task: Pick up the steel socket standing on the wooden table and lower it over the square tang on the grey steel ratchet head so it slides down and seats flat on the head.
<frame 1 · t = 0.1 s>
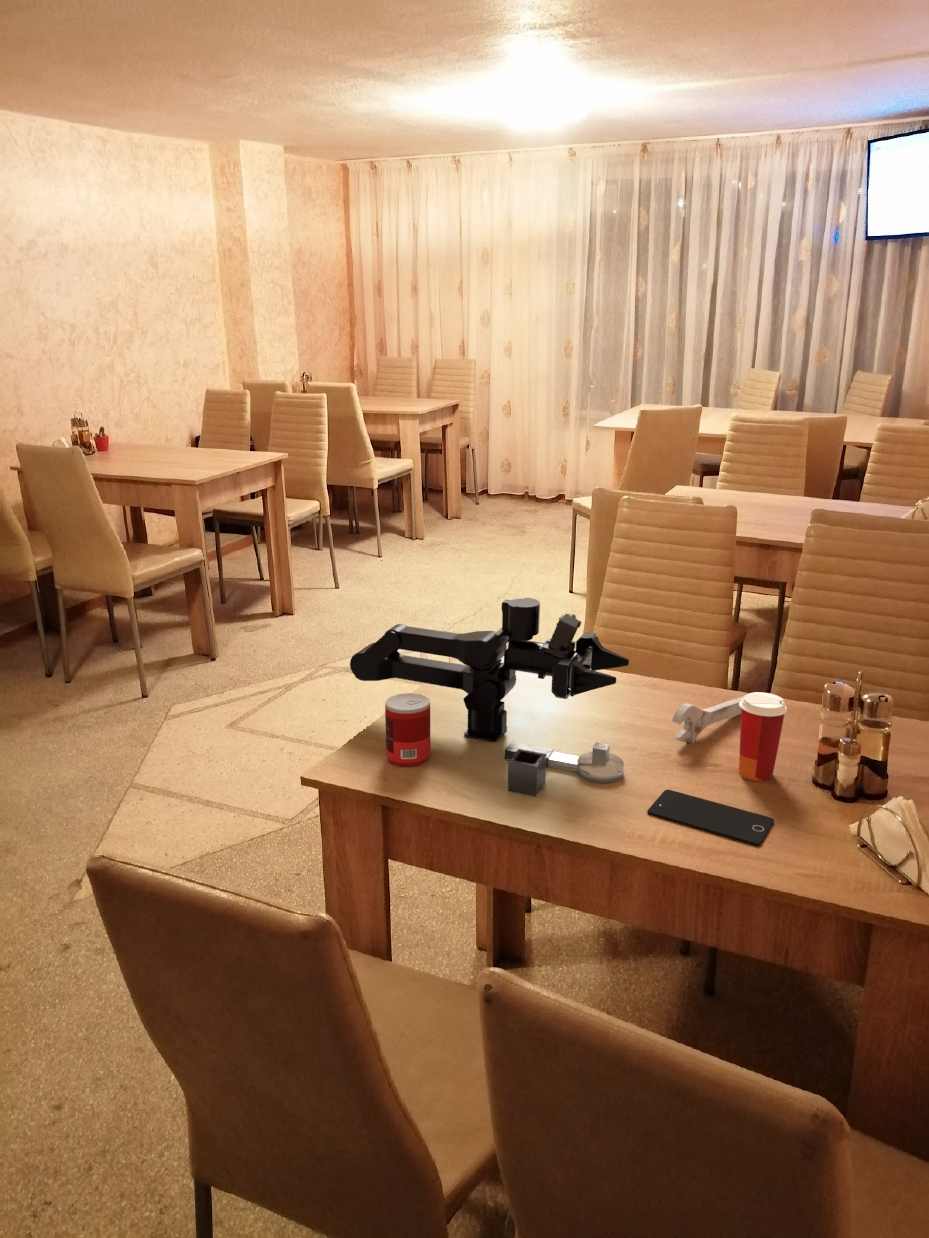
hand: (622, 671, 164), 17 cm above the table, tool horizontal, fingers open, 9 cm apart
socket: (526, 787, 159), on the table
paper cup: (755, 774, 164), on the table
canned food: (408, 758, 169), on the table
cell phone: (709, 821, 150), on the table
ratchet: (599, 772, 164), on the table
wrench: (716, 728, 182), on the table
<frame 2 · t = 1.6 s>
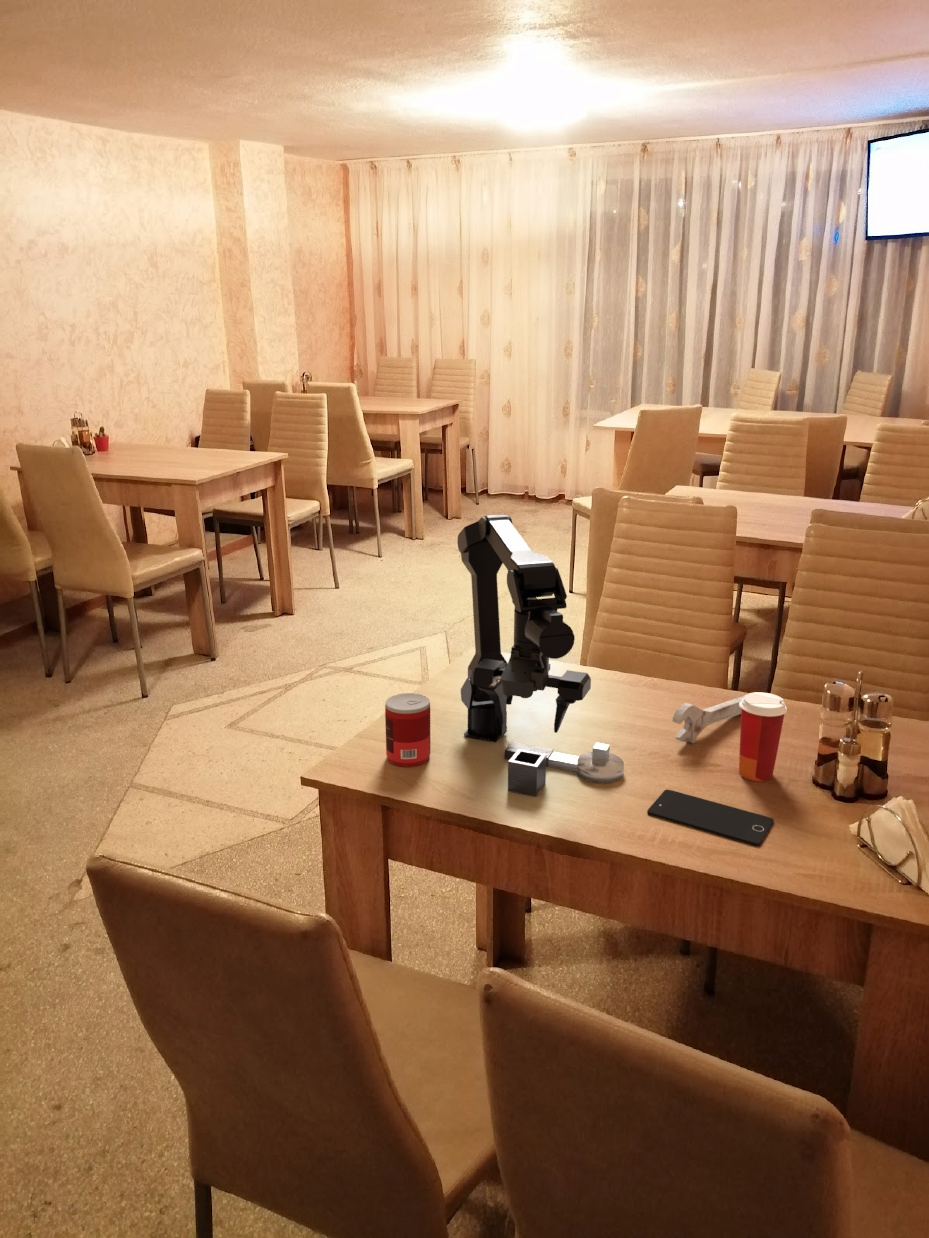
hand: (529, 727, 155), 11 cm above the table, tool pointing down, fingers open, 9 cm apart
nothing on the table moved.
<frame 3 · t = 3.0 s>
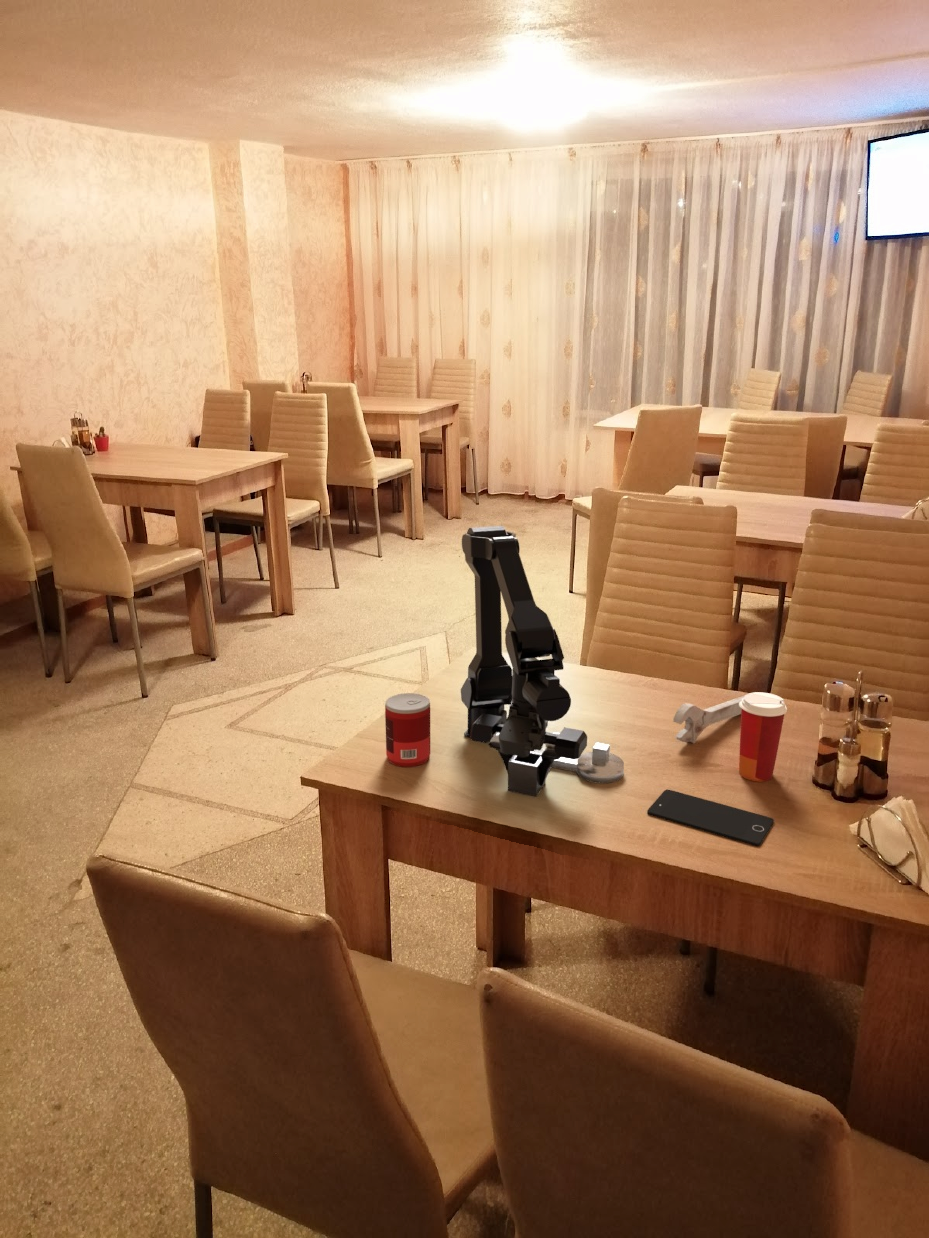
hand: (526, 781, 159), 1 cm above the table, tool pointing down, fingers closed on socket, 5 cm apart
socket: (526, 787, 159), on the table, touching gripper
everything else where it was.
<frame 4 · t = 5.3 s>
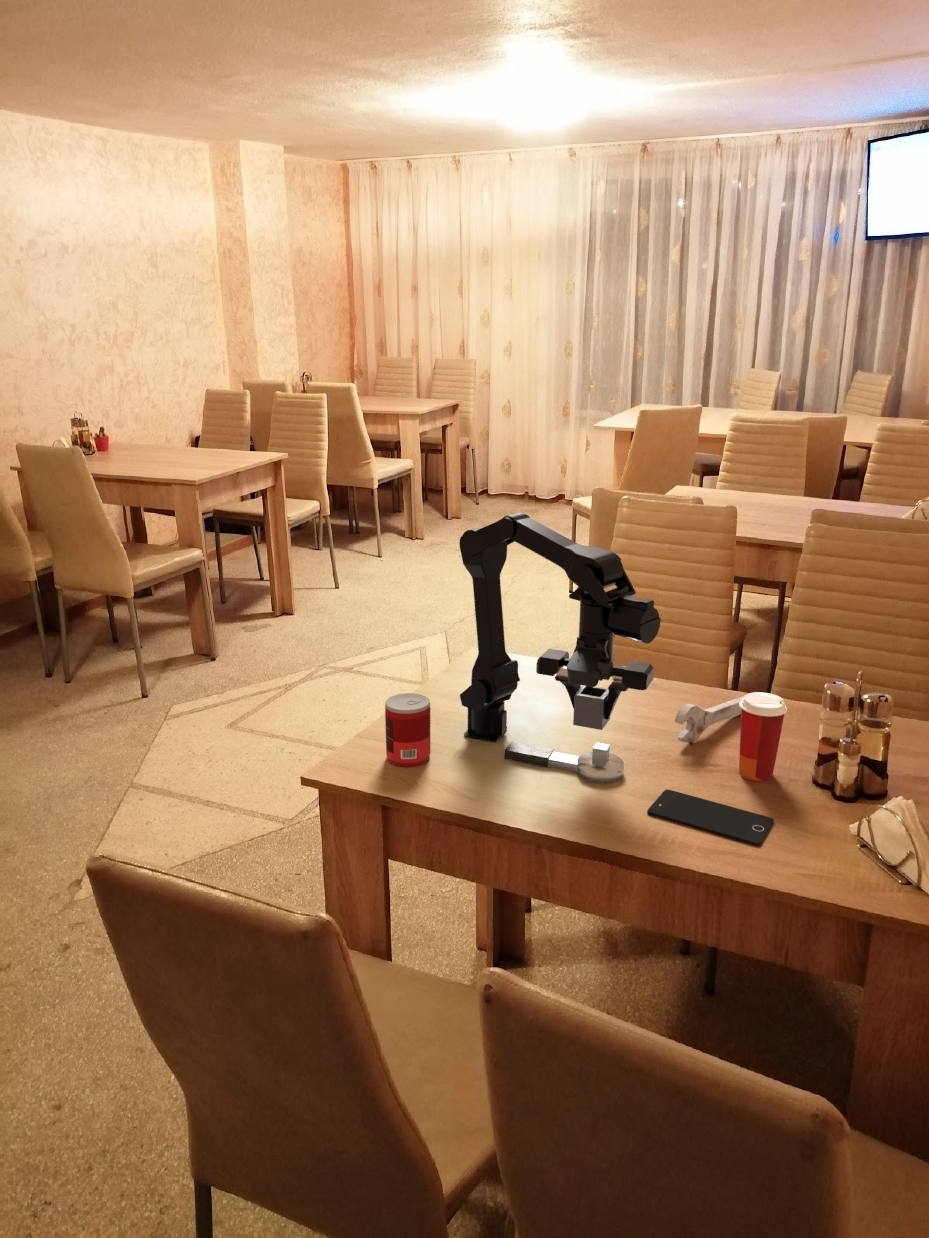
hand: (592, 716, 159), 11 cm above the table, tool pointing down, fingers closed on socket, 5 cm apart
socket: (591, 721, 160), point 10 cm above the table, touching gripper
everything else where it was.
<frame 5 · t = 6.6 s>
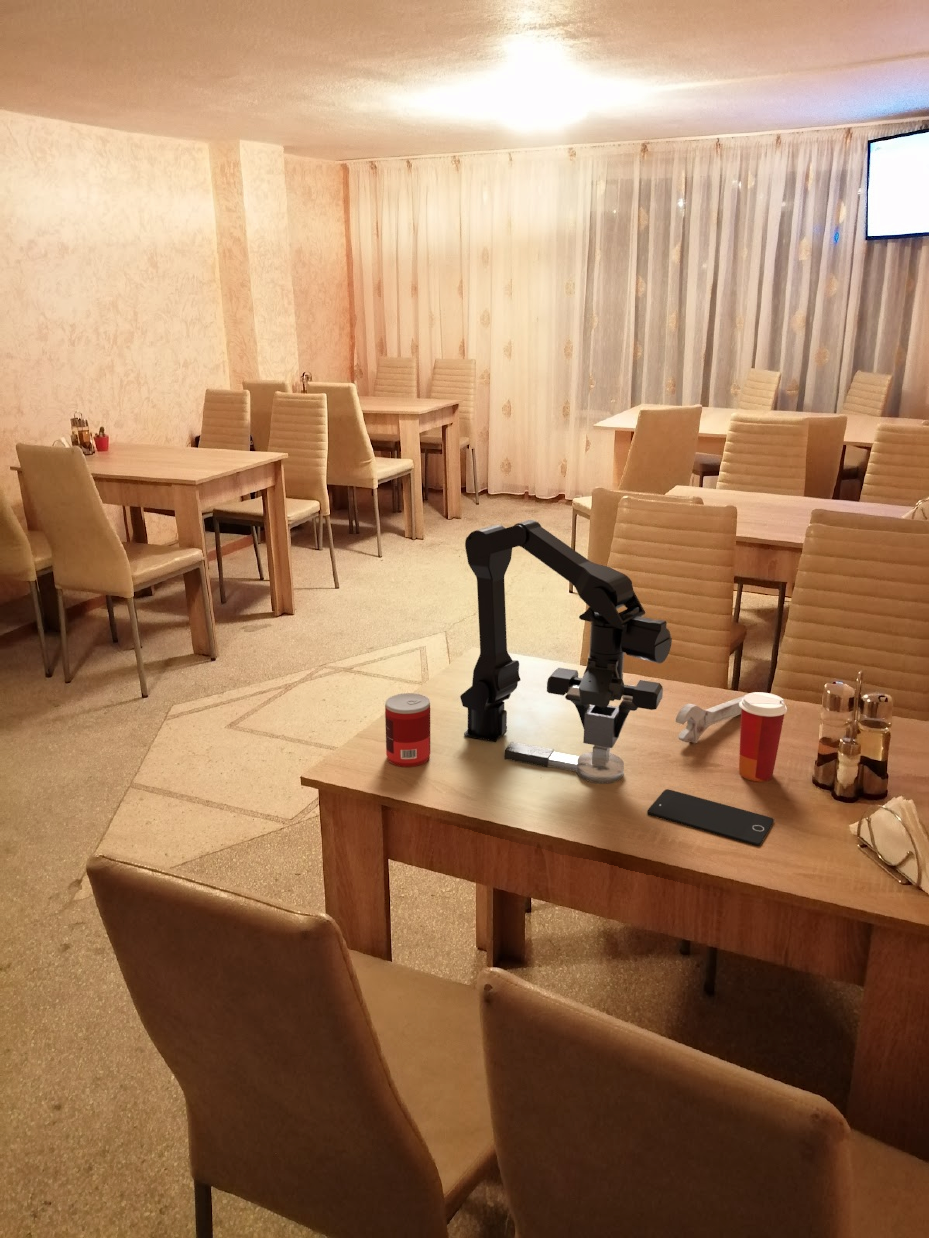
hand: (601, 734, 162), 7 cm above the table, tool pointing down, fingers closed on socket, 5 cm apart
socket: (601, 739, 162), point 6 cm above the table, touching gripper
everything else where it was.
when the fingers open (4 cm above the table, at t = 7.6 s): socket stays where it is, resting on ratchet.
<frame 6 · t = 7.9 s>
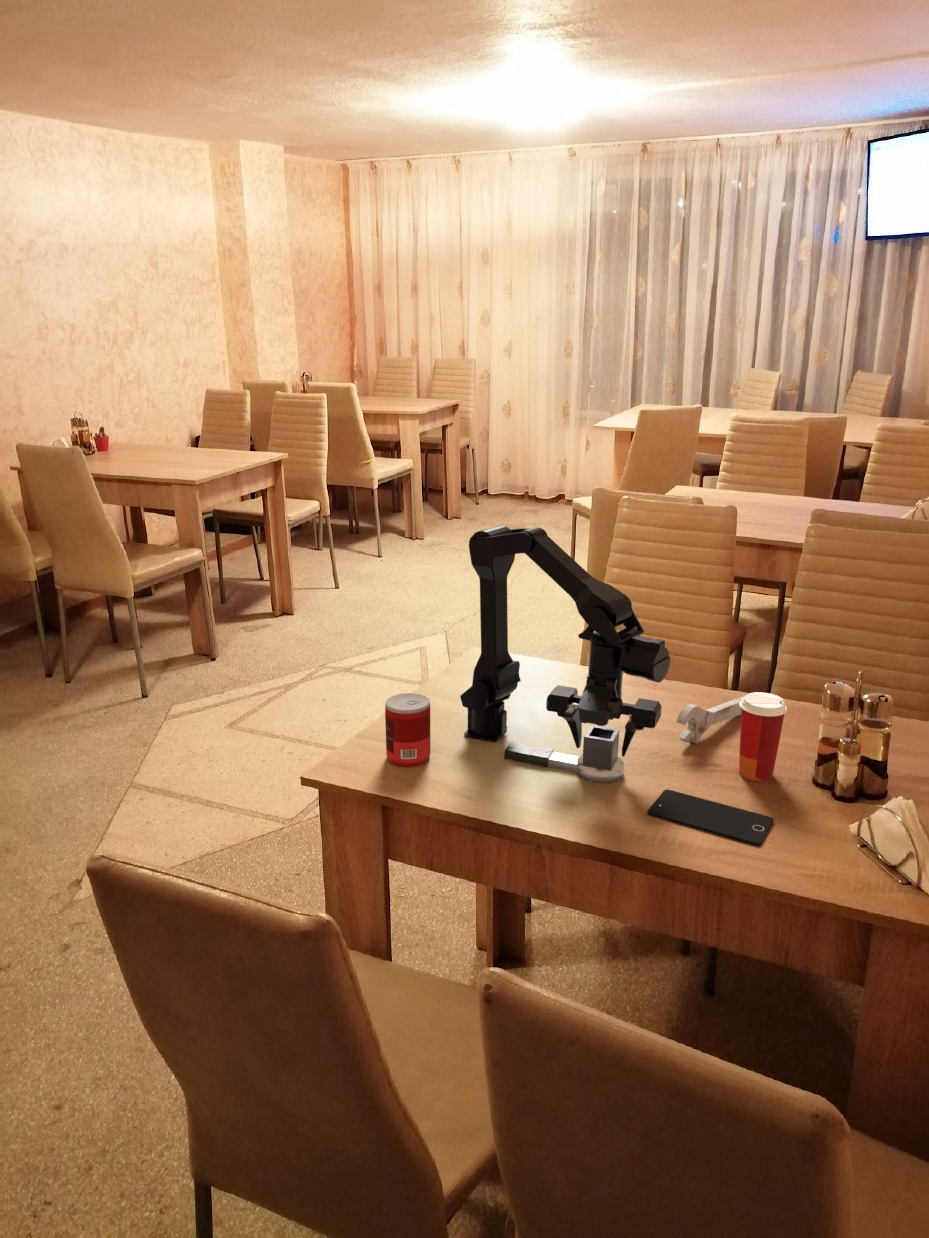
hand: (600, 751, 163), 4 cm above the table, tool pointing down, fingers open, 8 cm apart
socket: (600, 761, 163), point 2 cm above the table, touching ratchet
everything else where it was.
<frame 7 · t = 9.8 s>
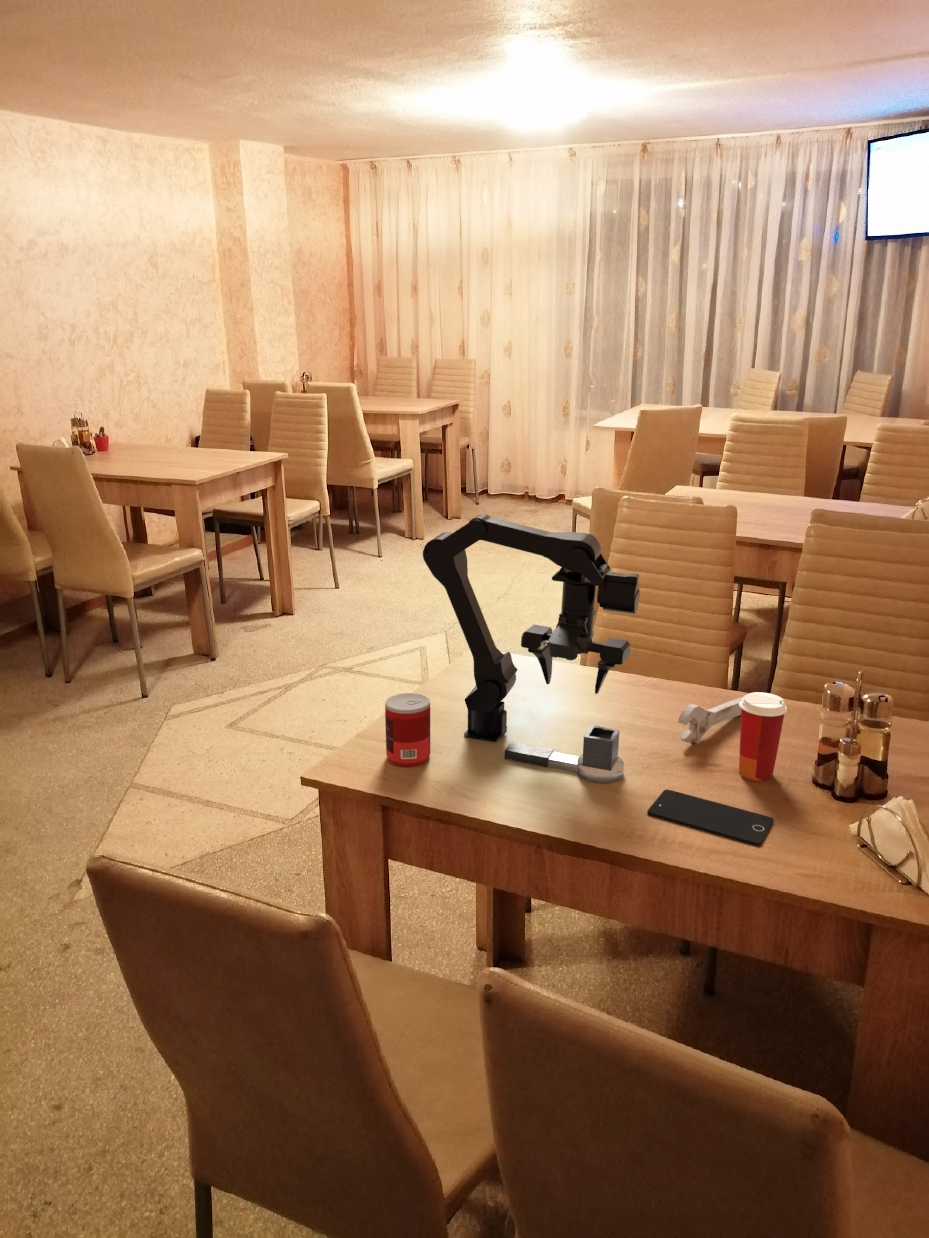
hand: (572, 688, 170), 11 cm above the table, tool pointing down, fingers open, 9 cm apart
nothing on the table moved.
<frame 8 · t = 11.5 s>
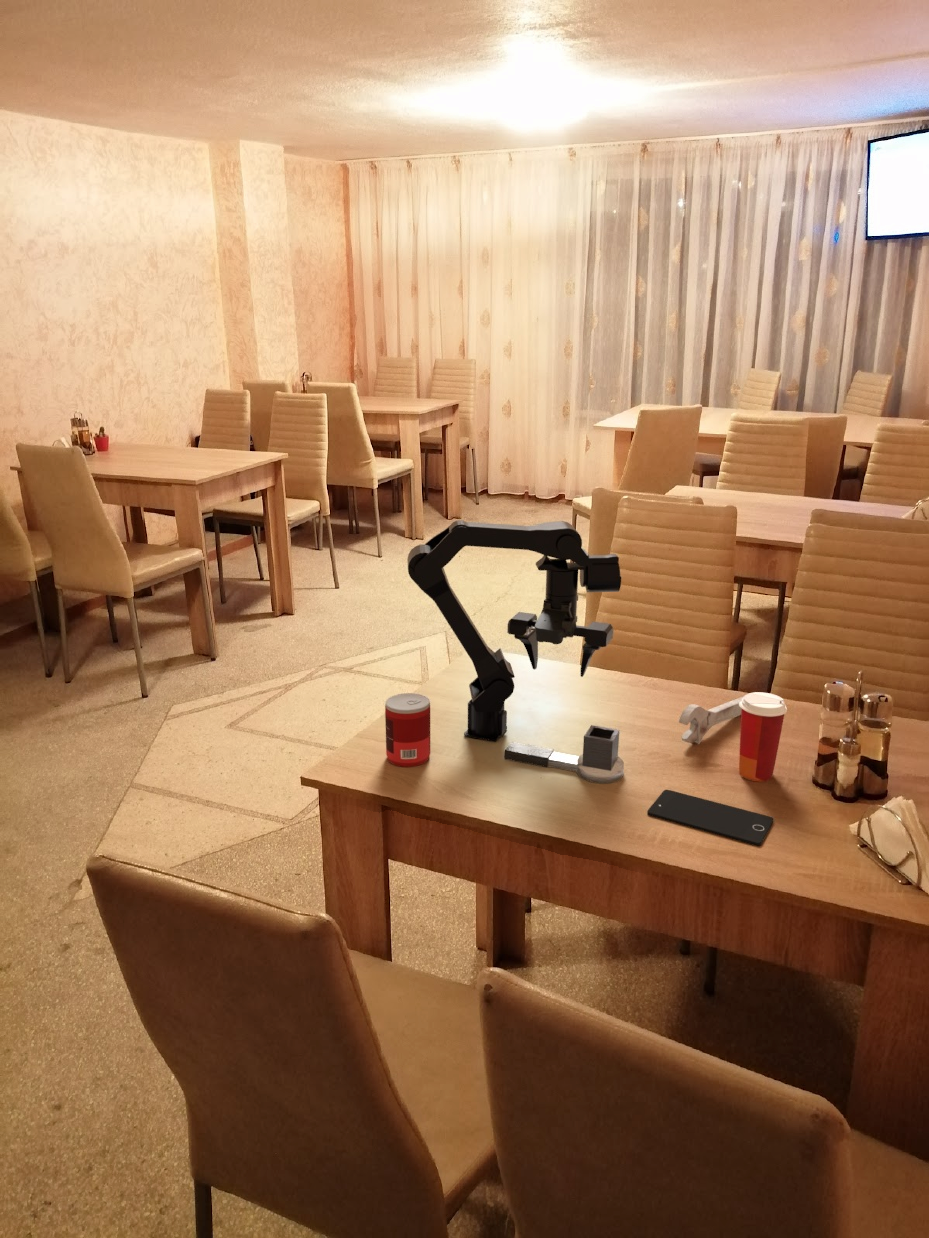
hand: (558, 672, 176), 12 cm above the table, tool pointing down, fingers open, 9 cm apart
nothing on the table moved.
at the end: socket 0.1 cm off-centre on the ratchet, point 2.0 cm above the ratchet's base; socket tilted 0°; the gripper is holding nothing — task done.
